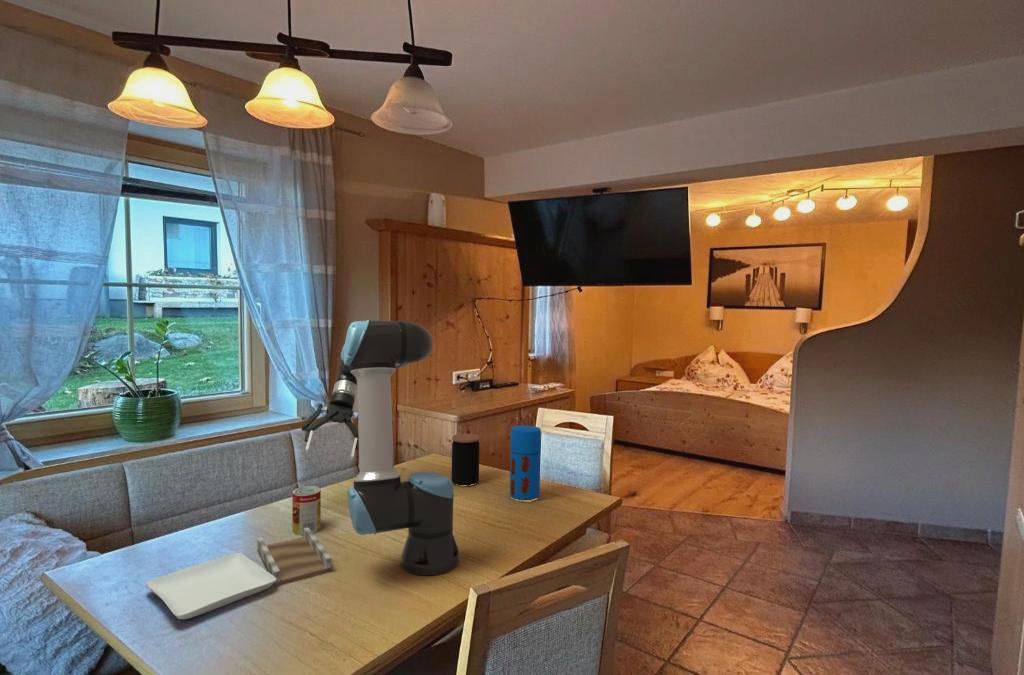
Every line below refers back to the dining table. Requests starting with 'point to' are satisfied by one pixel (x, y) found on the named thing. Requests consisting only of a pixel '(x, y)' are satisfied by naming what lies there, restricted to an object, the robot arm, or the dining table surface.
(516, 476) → the thermos
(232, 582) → the salad plate
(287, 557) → the track
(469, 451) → the coffee jar
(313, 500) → the canned food
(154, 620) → the dining table surface
